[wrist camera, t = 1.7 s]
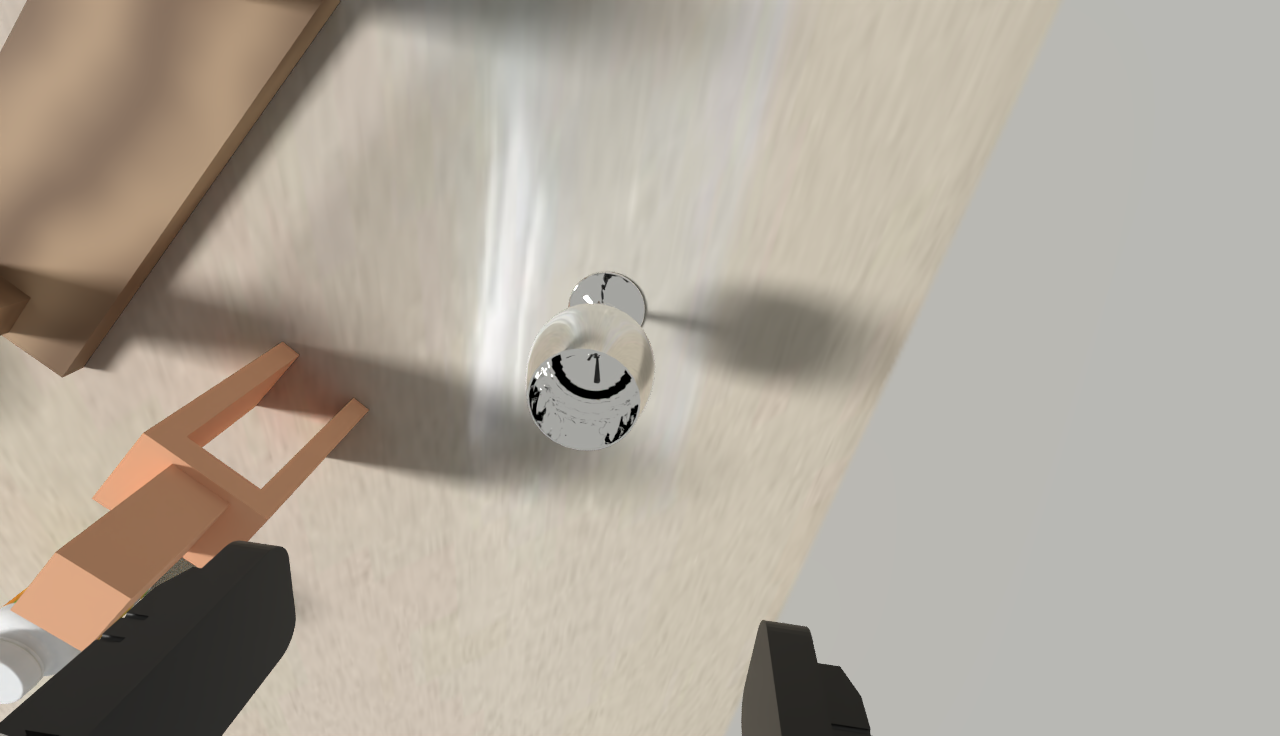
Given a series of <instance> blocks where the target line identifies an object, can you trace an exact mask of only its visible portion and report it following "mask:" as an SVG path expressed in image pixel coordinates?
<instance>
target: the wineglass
mask: <svg viewBox="0 0 1280 736" xmlns="http://www.w3.org/2000/svg"><path fill="white" fill-rule="evenodd" d="M644 315H645V304H644V300H643V296H642V294H641V292H640V291H639V289H638V288H637V286H636V285H635V284H634V283H633V282H632V281H630V280H629V279H628V278H626V277H624V276H623V275H620V274H617V273H613V272H599V273H594V274H591V275H589V276H587V277H585V278H584V279H582V280H581V281H580V282H579V283H578V284H577V285H576V286H575V288H574V289H573V291H572V293H571V296H570V298H569V304H568V308H567V309H565V310H563V311H561V312H559V313H558V314H556V315H555V316H554V317H552V318H551V319H550V320H549V321H548V322H547V323H546V324H545V325H544V326H543V327H542V328H541V330H540V331H539V333H538V334H537V336H536V338H535V340H534V342H533V344H532V346H531V349H530V352H529V355H528V360H527V367H526V397H527V403H528V408H529V412H530V414H531V416H532V418H533V421H534V423H535V424H536V425H537V427H538V428H539V429H540V430H541V431H542V433H543V434H544V435H546V436H547V437H548V438H550V439H551V440H552V441H554V442H556V443H558V444H560V445H562V446H564V447H568V448H572V449H576V450H598V449H603V448H606V447H608V446H611V445H613V444H615V443H617V442H618V441H620V440H621V439H622V438H624V437H625V436H626V435H627V434H628V433H629V432H630V431H631V429H632V428H633V427H634V425H635V424H636V422H637V421H638V419H639V418H640V416H641V414H642V413H643V411H644V409H645V407H646V405H647V403H648V401H649V398H650V395H651V392H652V388H653V384H654V379H655V358H654V353H653V349H652V346H651V343H650V341H649V339H648V337H647V335H646V333H645V331H644V330H643V329H642V327H641V325H642V322H643V320H644Z"/></svg>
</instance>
